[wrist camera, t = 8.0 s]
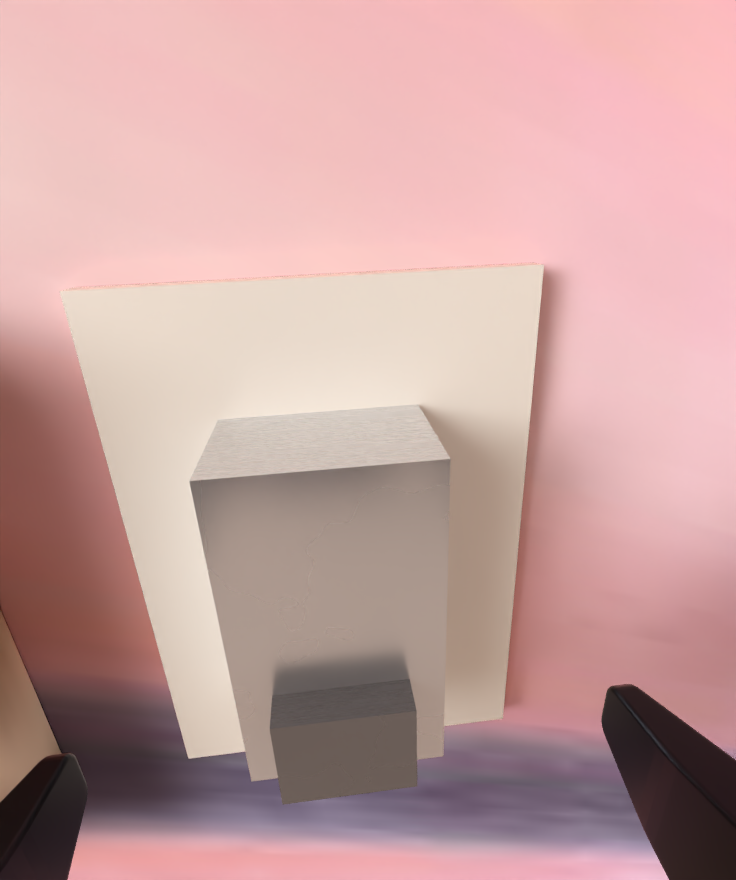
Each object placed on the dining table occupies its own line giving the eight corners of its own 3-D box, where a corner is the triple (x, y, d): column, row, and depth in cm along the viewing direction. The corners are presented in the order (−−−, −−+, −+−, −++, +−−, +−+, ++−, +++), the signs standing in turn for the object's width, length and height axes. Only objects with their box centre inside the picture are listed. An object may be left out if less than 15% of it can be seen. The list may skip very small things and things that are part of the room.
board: (496, 702, 17) (502, 719, 16) (192, 740, 16) (188, 758, 16) (532, 262, 11) (544, 264, 11) (72, 287, 11) (59, 291, 10)
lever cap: (419, 658, 15) (451, 789, 12) (262, 677, 15) (247, 818, 11) (418, 404, 12) (463, 479, 8) (218, 419, 11) (178, 504, 8)
